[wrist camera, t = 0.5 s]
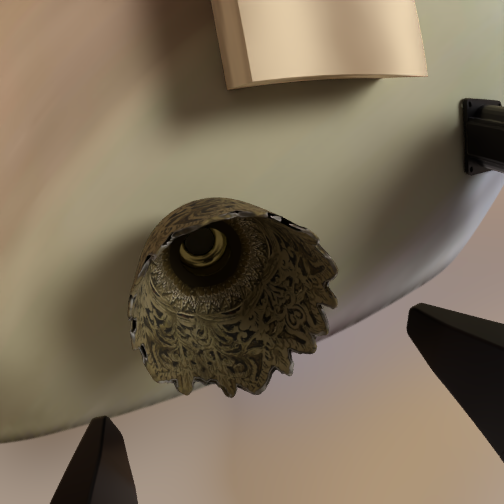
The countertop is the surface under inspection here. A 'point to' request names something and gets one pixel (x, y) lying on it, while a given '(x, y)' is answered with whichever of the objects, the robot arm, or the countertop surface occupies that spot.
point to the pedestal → (317, 40)
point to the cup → (229, 297)
